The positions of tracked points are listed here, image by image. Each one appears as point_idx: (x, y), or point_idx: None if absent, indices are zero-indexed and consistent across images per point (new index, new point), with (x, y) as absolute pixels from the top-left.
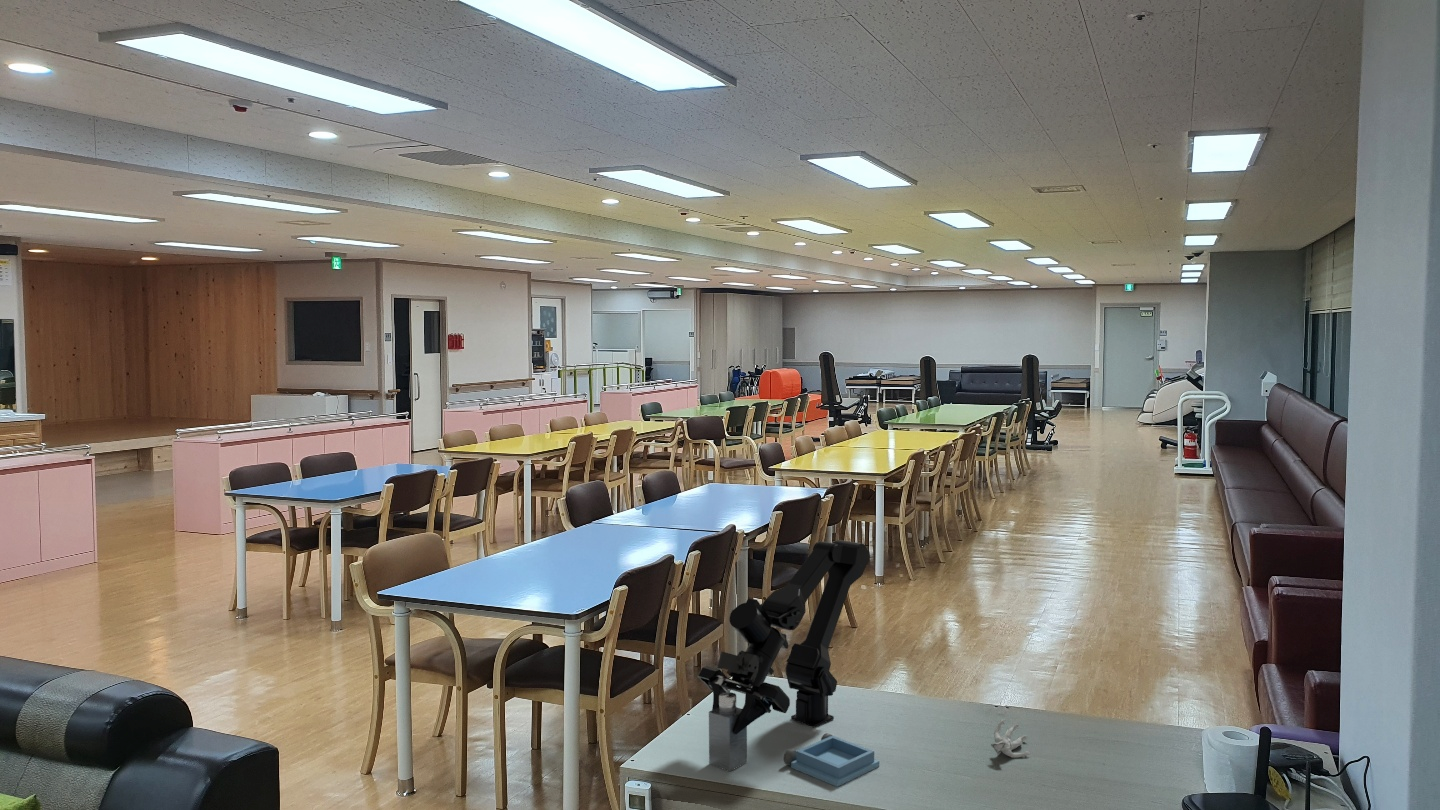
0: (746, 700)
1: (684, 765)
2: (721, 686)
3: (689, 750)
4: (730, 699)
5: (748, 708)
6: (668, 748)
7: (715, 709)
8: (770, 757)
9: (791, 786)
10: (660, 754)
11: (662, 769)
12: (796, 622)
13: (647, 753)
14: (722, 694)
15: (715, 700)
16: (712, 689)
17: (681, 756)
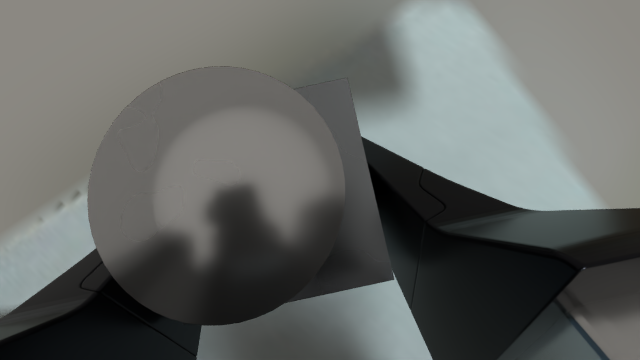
0: (3, 334)
1: (369, 94)
2: (571, 340)
3: (446, 164)
4: (109, 150)
5: (46, 291)
6: (496, 123)
7: (352, 142)
8: (253, 330)
9: (73, 247)
10: (473, 82)
11: (384, 34)
12: None
13: (501, 57)
14: (293, 152)
15: (440, 192)
16: (597, 210)
17: (425, 121)
